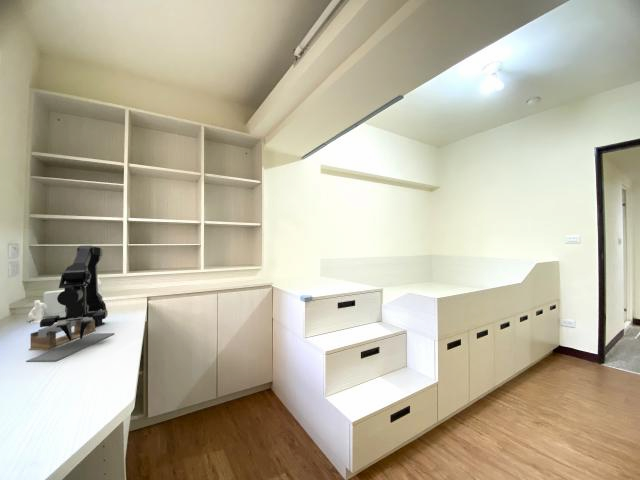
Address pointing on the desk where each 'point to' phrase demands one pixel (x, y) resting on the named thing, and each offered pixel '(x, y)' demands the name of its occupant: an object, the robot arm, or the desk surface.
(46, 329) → the rail
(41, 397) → the desk surface
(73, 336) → the standards
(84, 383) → the desk surface
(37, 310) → the koala figurine
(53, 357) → the mat
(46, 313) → the skincare box
